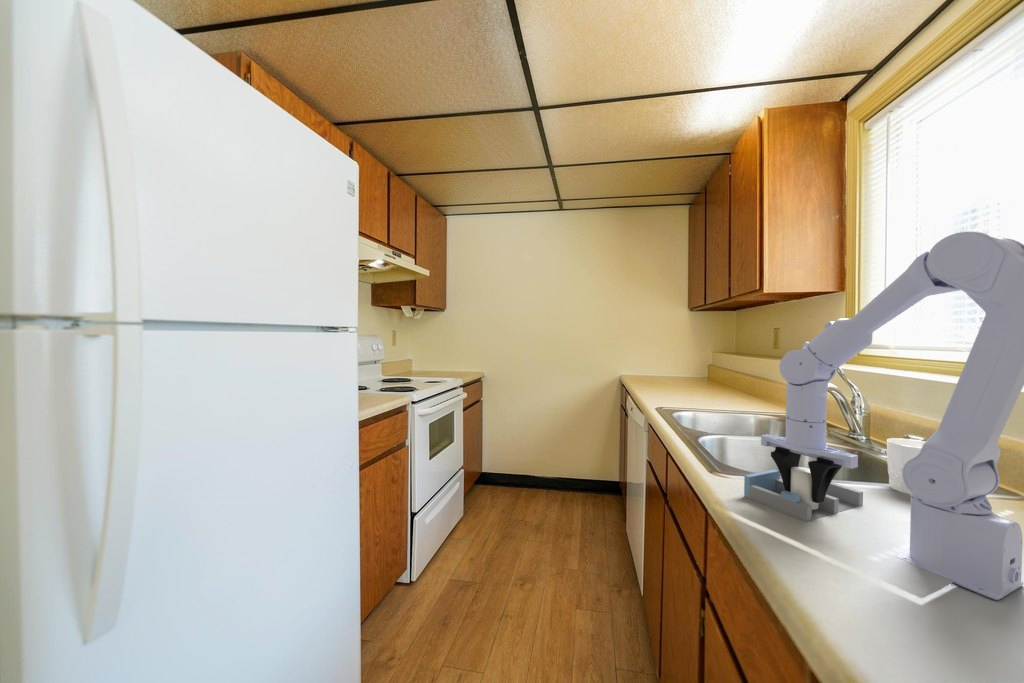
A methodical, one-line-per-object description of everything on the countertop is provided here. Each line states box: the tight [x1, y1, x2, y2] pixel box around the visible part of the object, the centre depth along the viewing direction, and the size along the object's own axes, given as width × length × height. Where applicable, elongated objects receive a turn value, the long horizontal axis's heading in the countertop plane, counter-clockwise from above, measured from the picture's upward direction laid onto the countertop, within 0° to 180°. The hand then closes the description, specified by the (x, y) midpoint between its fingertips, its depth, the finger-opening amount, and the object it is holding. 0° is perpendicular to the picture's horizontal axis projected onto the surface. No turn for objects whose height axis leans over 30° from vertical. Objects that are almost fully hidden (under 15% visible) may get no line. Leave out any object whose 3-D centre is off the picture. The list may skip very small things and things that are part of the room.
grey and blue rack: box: [743, 469, 864, 523], centre depth 73 cm, size 11×16×5 cm
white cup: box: [886, 437, 926, 496], centre depth 79 cm, size 8×8×10 cm
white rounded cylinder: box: [790, 466, 819, 510], centre depth 70 cm, size 4×4×6 cm
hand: (804, 496), depth 69 cm, fingers closed on white rounded cylinder, 4 cm apart
